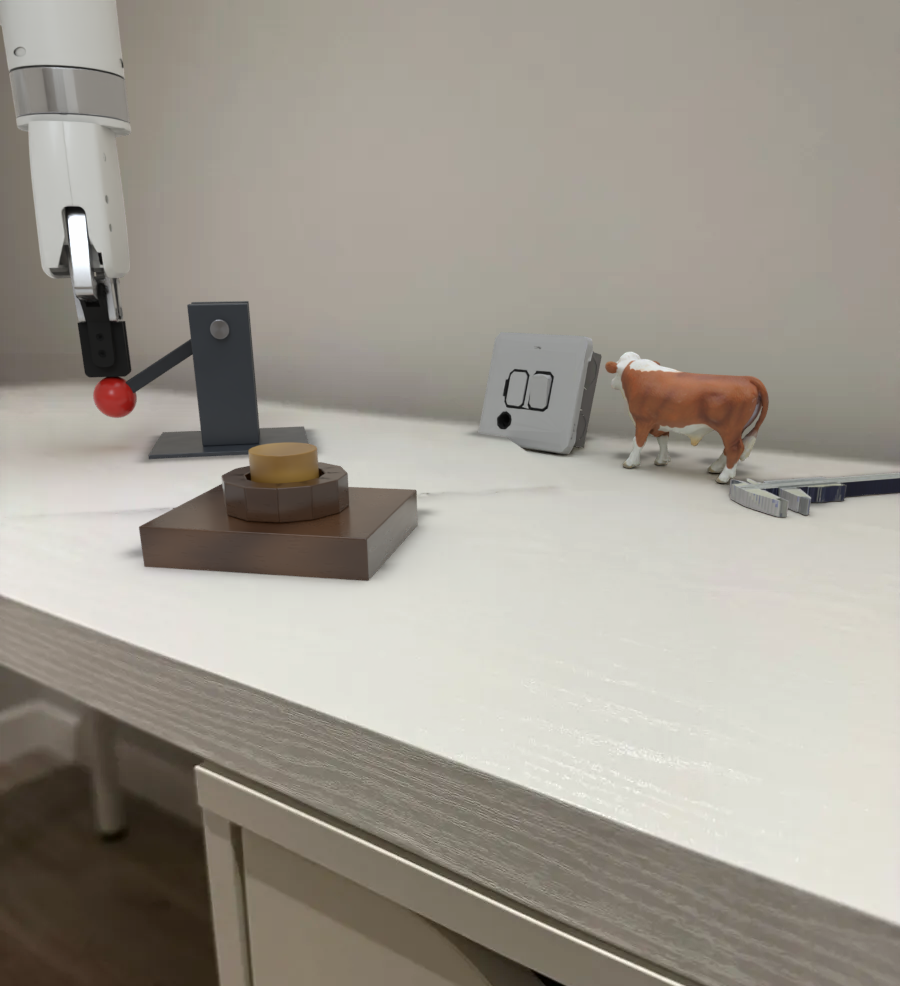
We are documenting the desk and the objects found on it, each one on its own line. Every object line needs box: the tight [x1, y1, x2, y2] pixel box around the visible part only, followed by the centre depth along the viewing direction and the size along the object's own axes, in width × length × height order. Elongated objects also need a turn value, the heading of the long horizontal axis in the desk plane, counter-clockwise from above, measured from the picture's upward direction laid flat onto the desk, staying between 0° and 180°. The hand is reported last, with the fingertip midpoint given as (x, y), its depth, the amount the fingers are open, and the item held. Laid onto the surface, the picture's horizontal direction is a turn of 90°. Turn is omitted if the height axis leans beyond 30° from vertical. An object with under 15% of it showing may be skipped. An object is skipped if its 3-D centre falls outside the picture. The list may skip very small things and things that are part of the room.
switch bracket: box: [148, 300, 309, 460], centre depth 70 cm, size 12×10×12 cm
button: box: [248, 442, 319, 483], centre depth 47 cm, size 4×4×2 cm
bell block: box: [138, 461, 418, 582], centre depth 48 cm, size 12×10×4 cm
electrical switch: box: [477, 331, 603, 455], centre depth 73 cm, size 9×5×9 cm, turn 49°
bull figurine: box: [604, 351, 770, 484], centre depth 64 cm, size 4×13×8 cm, turn 41°
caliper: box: [728, 472, 900, 518], centre depth 59 cm, size 20×1×6 cm
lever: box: [92, 338, 193, 419], centre depth 69 cm, size 13×3×3 cm, turn 102°
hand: (108, 375), depth 68 cm, fingers closed
